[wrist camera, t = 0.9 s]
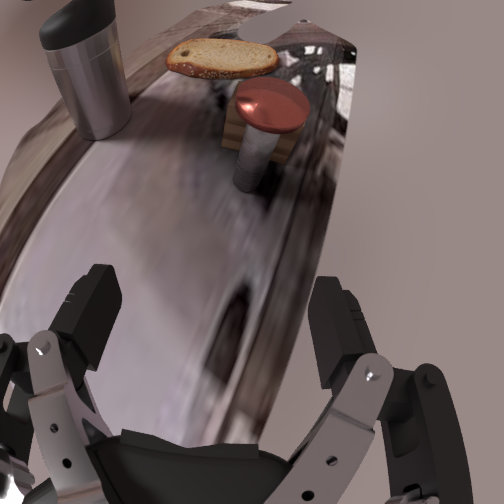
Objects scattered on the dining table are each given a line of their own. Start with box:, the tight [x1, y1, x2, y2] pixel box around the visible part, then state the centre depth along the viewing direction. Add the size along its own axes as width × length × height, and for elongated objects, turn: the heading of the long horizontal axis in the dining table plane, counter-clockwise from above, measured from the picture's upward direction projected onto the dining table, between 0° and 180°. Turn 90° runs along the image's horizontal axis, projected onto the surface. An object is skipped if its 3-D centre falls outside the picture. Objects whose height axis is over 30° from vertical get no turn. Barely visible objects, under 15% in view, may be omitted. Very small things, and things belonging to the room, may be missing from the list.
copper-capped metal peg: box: [233, 77, 310, 192], centre depth 28 cm, size 14×6×14 cm, turn 167°
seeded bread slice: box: [165, 39, 279, 79], centre depth 40 cm, size 18×18×4 cm
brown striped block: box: [221, 81, 305, 164], centre depth 32 cm, size 5×9×8 cm, turn 77°
